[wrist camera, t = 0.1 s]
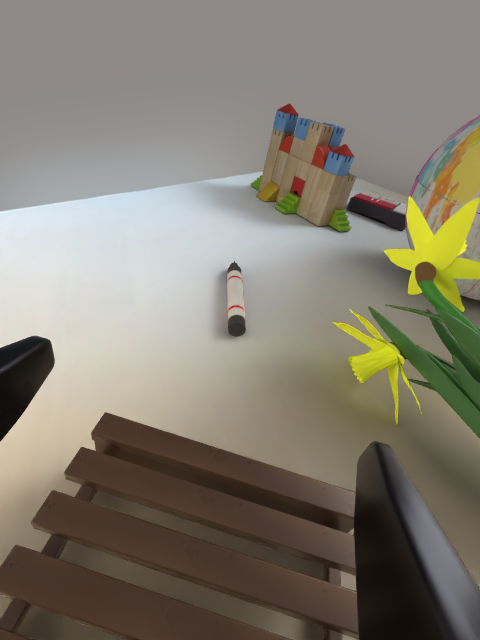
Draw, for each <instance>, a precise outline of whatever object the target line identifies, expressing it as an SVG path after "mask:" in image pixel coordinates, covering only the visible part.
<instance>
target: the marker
mask: <svg viewBox="0 0 480 640" xmlns="http://www.w3.org/2000/svg"><path fill="white" fill-rule="evenodd" d="M227 293H228V331H229V333H230V334H231V335H232V336H241V335H243V334H244V333H245V330H246V328H245V311H244V298H243V285H242V275H241V269H240V267H239V266H238V264H237V263H235V261H234V263H232V264H231V265H230V267H229V268H228V276H227Z"/></svg>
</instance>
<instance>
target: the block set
mask: <svg viewBox="0 0 480 640" xmlns="http://www.w3.org/2000/svg"><path fill="white" fill-rule="evenodd" d="M297 119H298V113H297V112H296V111H295V109H294V108H293V107H292V105H291V104H288V105H286V106H284V107H282V108H280V109H278V110H277V113H276V117H275V122H274V126H273V132H272V136H271V140H270V145H269V149H268V153H267V157H266V163H265V166H264V170H263V175H262V176H260V178H257V180H255V181H254V183H251V186H252V187H254V188H255V189H257V190H259V191H260V193H259V194H258V195H257V197H258V198H260V199H261V200H263V201H265V202H266V201H276V202H278V203H279V204H276V206H275V208H276V209H278V210H279V211H281V212H282V213H284V214H292V213H296V214H298V215H300V216H301V217H303V218H305V219H307V220H308V221H310V222H312V223H313V224H315V225H317V226H325V225H330V226H331V227H333V228H335V229H336V230H338V231H340V232H342V231H349V230H350V229H351V227H350V226H349V221H348V220H347V218H348V216H347V215H345V214H346V210H344V207H345V204H346V202H347V200H348V197H349V195H350V192H351V189H352V187H353V184H354V182H355V179H356V176H355V175H352V174H351V173H348V172H349V169H350V167H351V164H352V162H353V159H354V155H353V154H352V152H351V151H350V149H349V148H348V146H347V145H346V144H345V145H342V146H340V147H339V145H340V143H341V140H342V137H343V135H344V132H345V128H342V127H339V126H336V125H333V124H327V123H319V122H316V121H312V120H310V119H305V118H299V119H298V122H297ZM296 123H297V126H296ZM295 127H296V130H295ZM294 131H295V134H294ZM293 135H294V136H293Z"/></svg>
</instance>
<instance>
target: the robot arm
mask: <svg viewBox="0 0 480 640" xmlns="http://www.w3.org/2000/svg"><path fill="white" fill-rule="evenodd" d="M54 363H55V359H54V354H53V349H52V344H51V341H50V340H48V339H46V338H42V337H39V336H31V337H28V338H26V339H23V340H20V341H18V342H15V343H12V344H10V345H7V346H4V347H2V348H0V441H1V440H2V439H3V438H4V437H5V435H6V434H7V433H8V432H9V430H10V429H11V428H12V427H13V425H14V424H15V423H16V422H17V420H18V419H19V418H20V417H21V415H22V414H23V412H24V411H25V410H26V408H27V407H28V405H29V404H30V402H31V401H32V399H33V397H34V396H35V394H36V393H37V391H38V390H39V388H40V387H41V385H42V384H43V382H44V381H45V379H46V378H47V376H48V375H49V373H50V372H51V370H52V368H53V366H54ZM354 543H355V566H356V589H357V611H358V634H359V640H480V589H479V587H478V586H477V584H476V583H475V581H474V579H473V578H472V576H471V575H470V573H469V571H468V570H467V568H466V567H465V565H464V563H463V562H462V560H461V559H460V557H459V555H458V554H457V552H456V551H455V549H454V547H453V546H452V544H451V543H450V541H449V539H448V538H447V536H446V535H445V533H444V531H443V530H442V528H441V527H440V525H439V523H438V522H437V520H436V519H435V517H434V515H433V514H432V512H431V511H430V509H429V507H428V506H427V504H426V503H425V501H424V499H423V498H422V496H421V495H420V493H419V491H418V490H417V488H416V487H415V485H414V483H413V482H412V480H411V479H410V477H409V475H408V474H407V472H406V471H405V469H404V467H403V466H402V464H401V462H400V461H399V459H398V458H397V456H396V454H395V453H394V451H393V450H392V448H391V447H390V446H388V445H386V444H383V443H380V442H376V441H374V442H372V443H371V444H370V445H369V446H368V447H367V449H366V450H365V451H364V452H363V453H362V455H361V456H360V458H359V460H358V464H357V479H356V494H355V510H354Z"/></svg>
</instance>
